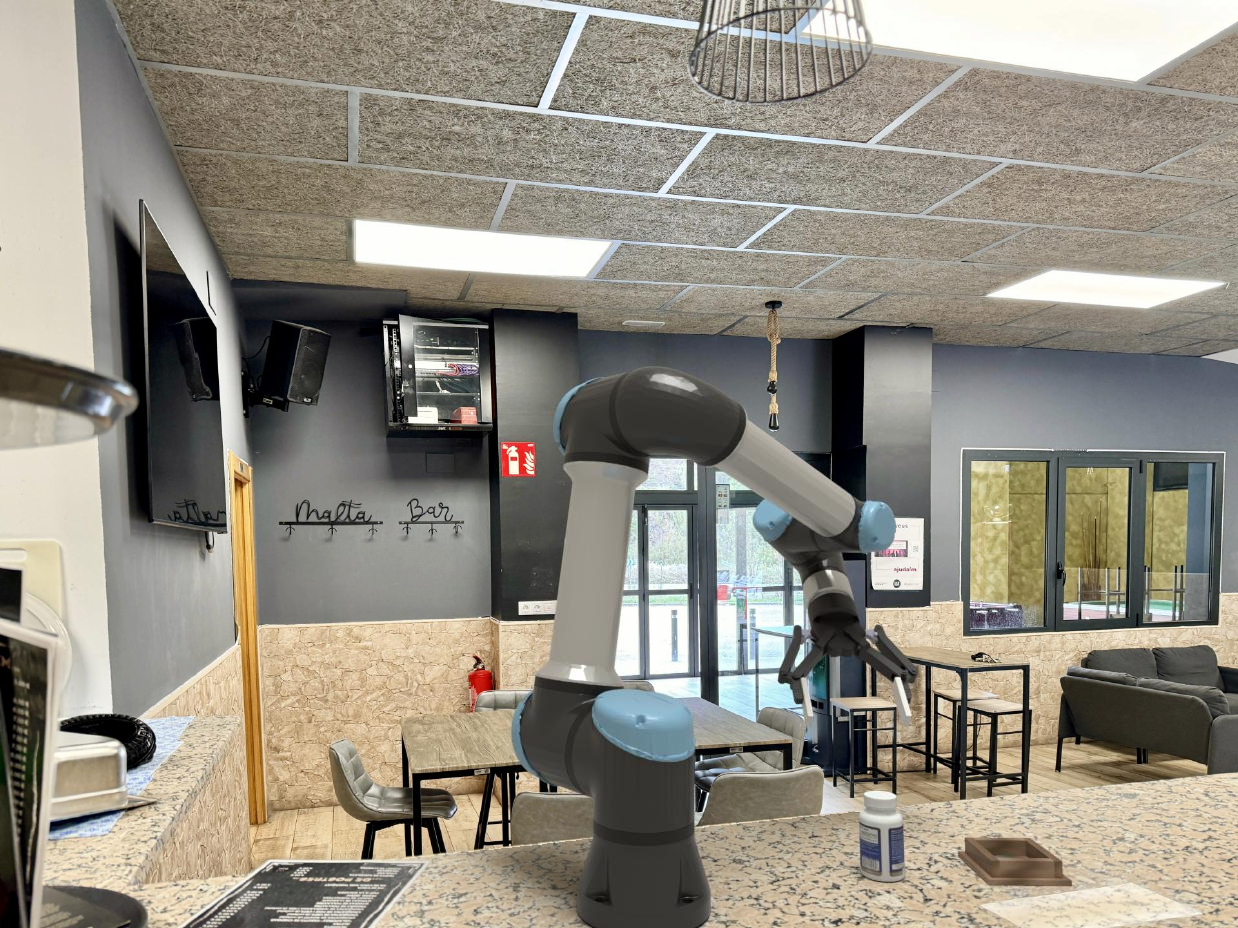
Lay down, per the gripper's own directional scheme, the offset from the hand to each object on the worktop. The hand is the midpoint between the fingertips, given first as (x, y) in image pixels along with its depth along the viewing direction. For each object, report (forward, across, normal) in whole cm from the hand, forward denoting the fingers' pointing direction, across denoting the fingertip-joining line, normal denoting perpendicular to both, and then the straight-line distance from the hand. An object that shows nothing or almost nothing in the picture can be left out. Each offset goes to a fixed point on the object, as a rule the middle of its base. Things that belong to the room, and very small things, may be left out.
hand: (858, 721), depth 119 cm
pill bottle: (+20, 0, -4) cm, 20 cm away
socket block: (+18, -17, -5) cm, 25 cm away
